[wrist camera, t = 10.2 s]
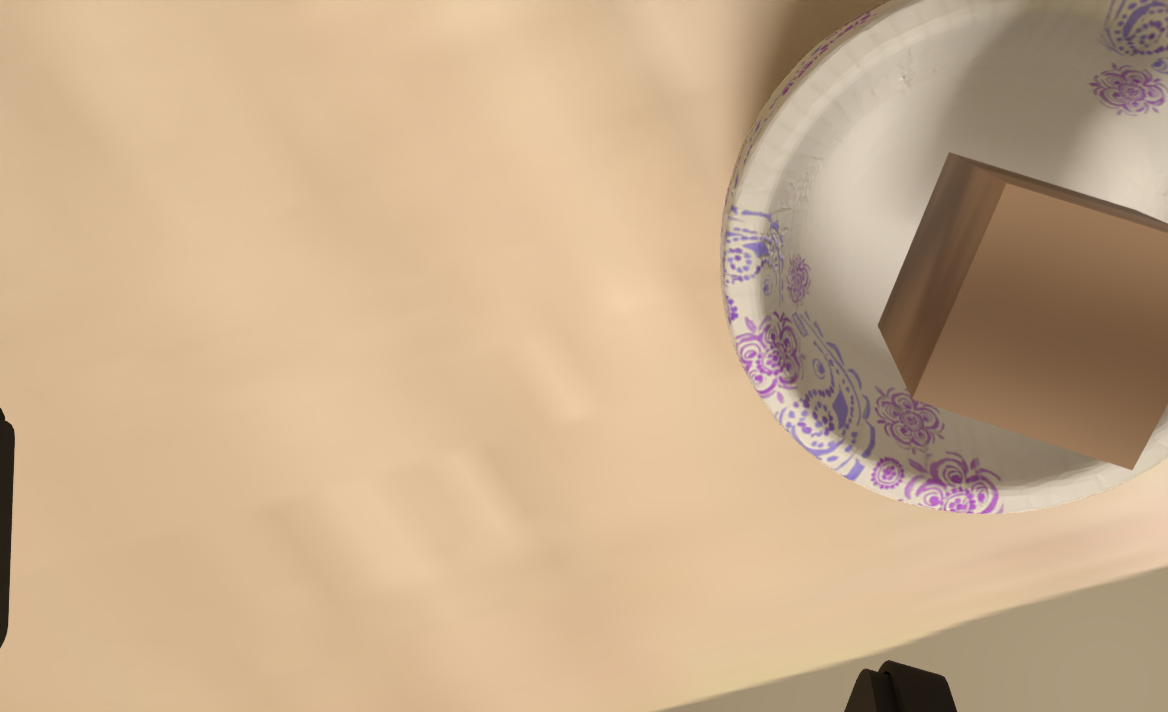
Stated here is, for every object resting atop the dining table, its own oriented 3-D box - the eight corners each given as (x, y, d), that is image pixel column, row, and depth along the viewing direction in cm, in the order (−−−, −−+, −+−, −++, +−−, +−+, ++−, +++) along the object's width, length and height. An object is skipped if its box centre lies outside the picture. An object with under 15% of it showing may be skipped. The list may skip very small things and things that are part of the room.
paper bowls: (1291, 137, 32) (1460, 166, 24) (994, 495, 37) (1059, 612, 29) (886, -109, 31) (932, -156, 24) (645, 288, 36) (619, 352, 29)
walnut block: (948, 152, 26) (1006, 183, 20) (1135, 209, 25) (1246, 257, 20) (877, 325, 27) (911, 398, 22) (1051, 381, 27) (1132, 470, 22)
